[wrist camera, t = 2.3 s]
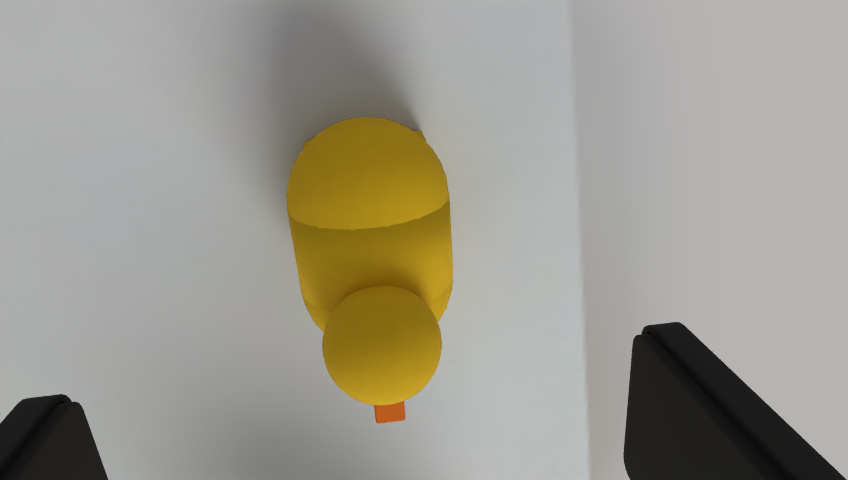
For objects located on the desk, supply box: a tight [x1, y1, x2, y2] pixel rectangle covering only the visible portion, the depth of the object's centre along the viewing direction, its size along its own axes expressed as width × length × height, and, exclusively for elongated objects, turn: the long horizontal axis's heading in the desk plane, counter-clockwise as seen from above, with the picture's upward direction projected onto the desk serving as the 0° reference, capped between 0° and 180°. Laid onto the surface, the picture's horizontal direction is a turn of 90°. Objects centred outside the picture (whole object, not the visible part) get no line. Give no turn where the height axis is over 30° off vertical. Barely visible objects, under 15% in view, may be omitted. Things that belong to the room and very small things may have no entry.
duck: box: [287, 117, 453, 423], centre depth 16 cm, size 8×4×7 cm, turn 4°
